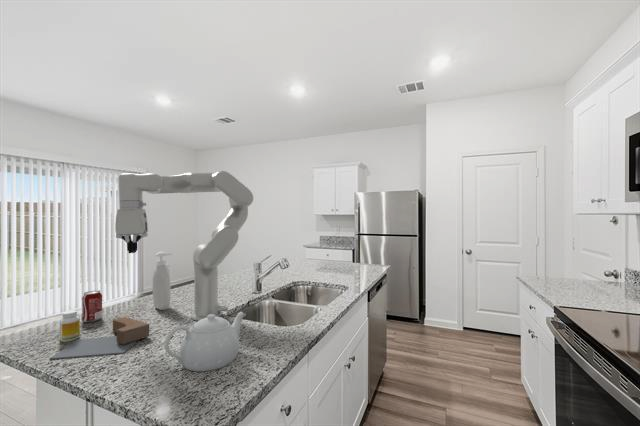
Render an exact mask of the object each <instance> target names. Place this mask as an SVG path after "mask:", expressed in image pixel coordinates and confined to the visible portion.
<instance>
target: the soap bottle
mask: <svg viewBox="0 0 640 426" xmlns="http://www.w3.org/2000/svg"><path fill="white" fill-rule="evenodd" d="M172 253H173V252H165V251H158V252H157V253H155V257H159V259H157V260H156V267H155V270H154V272H153V276H152V289H151V290H152V300H153V305H154V307H155V309H156V310H160V311H165V310H168V309H169V308H170V304H171V294H172V293H171V291H172V290H171V278H170V271H169V270H168V268H167V265H166V260H165V259H163V257H165V256H171V255H173V254H172Z"/></svg>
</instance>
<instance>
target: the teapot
mask: <svg viewBox="0 0 640 426" xmlns="http://www.w3.org/2000/svg"><path fill="white" fill-rule="evenodd" d="M245 316H247V314H246V313H244V312H243V311H240V312H238V313H237V315H236V317H235V318H234V320H233V322H232V324H231V323H230V321H228V320H227V319H225V318H224V317H221V316H219V317H215V315H214V314H209V315H208V316H207V318H204V319H201V320H199V321H196V322H195V323H193V324H192V325H191V327H190V328H188V327H187V326H185V325H178V326H176V327H174V328H172V329H171V330H170V332H168V334H167V336H166V338H165V340H164V350H165V351H166V353H167V354H168V356H170V357H172V358H175V359H177V362H178V364H179V365H182V366H183V367H184V368H185V369H187V370H189V371H191V372H192V371H193V372H210V371H215V370H218V369H222V368H223V367H227V365H230V364H231V363H232V362H233V361H234V360H235V359H236V357H237V356H238V354H239V349H240V333H241V326H242V320H243V318H244V317H245ZM180 330H184V331H185V333H186V334H185V335H184V337H183V339H182V341H181V343H180V347H179V354H177V353H176V352H173V351H172V350H171V349H170V348H169V344H170V341H171V338H172V337H173V335H174V334H175V333H176V332H177V331H178V332H179V331H180Z"/></svg>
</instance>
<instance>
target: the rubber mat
mask: <svg viewBox="0 0 640 426" xmlns="http://www.w3.org/2000/svg"><path fill="white" fill-rule="evenodd" d="M136 341H137V340H136ZM136 341H133V342H130V343H126V344H123V345H122V344H120V343H117V335H116V336H115V335H114V336H104V337H103V336H101V337H90V338H89V337H87V338H77V339H76V340H74V342H73V343H71V344H69V345H68V346H66V347H65V348H63V349H61V350H60V351H59V352H57V353H55V354H54V355H52V356H51V357H50V358H49V360H51V361H52V360H63V359H73V358H75V359H76V358H83V357H84V358H85V357H97V356H98V357H99V356H108V355H109V356H111V355H121V354H126V353H127V351H128V350H129V349H130V348H131V347H133V346H134V345H135V343H137V342H136Z"/></svg>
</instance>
